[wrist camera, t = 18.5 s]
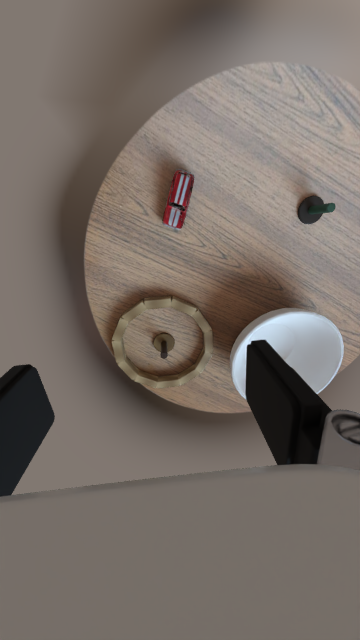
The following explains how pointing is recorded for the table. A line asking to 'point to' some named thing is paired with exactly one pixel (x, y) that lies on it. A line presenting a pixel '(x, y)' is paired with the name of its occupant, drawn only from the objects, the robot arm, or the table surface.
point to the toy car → (178, 199)
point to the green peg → (313, 209)
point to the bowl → (292, 345)
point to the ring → (170, 379)
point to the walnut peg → (164, 344)
